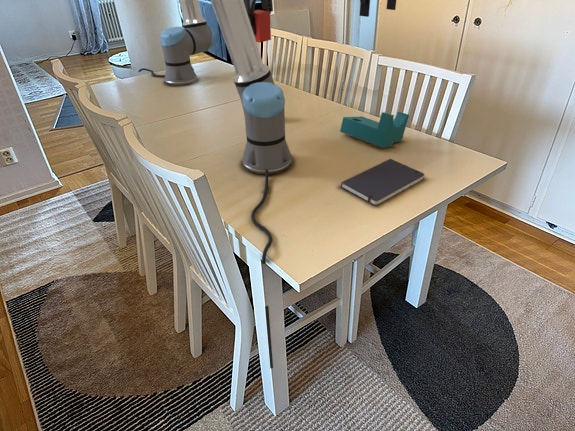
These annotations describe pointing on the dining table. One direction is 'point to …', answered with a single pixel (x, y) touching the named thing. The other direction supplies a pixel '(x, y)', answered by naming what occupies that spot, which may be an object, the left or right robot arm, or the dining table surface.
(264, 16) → the block
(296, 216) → the dining table surface
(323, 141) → the dining table surface
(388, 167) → the notebook
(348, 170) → the dining table surface
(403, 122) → the teal l-shaped bracket
